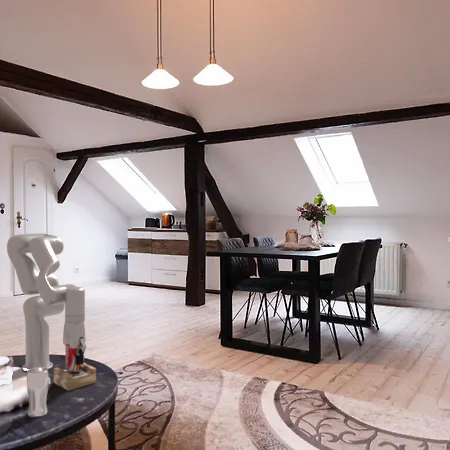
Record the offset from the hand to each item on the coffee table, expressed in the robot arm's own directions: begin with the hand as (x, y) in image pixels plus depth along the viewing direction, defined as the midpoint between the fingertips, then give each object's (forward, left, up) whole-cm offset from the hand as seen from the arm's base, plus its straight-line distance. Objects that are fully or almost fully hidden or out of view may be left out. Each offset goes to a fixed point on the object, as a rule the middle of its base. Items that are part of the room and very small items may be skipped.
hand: (74, 361), depth 185 cm
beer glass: (+17, -23, -9) cm, 30 cm away
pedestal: (0, 0, -8) cm, 8 cm away
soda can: (0, 0, -4) cm, 4 cm away
